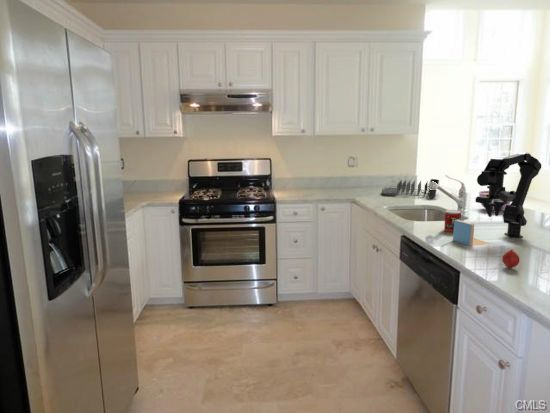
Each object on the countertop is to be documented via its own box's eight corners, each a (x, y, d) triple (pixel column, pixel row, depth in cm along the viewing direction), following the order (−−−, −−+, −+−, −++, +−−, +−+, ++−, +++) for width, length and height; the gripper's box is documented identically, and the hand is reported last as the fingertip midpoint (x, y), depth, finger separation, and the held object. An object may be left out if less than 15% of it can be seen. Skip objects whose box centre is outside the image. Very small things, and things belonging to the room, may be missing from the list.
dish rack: (437, 199, 303) (438, 184, 301) (379, 196, 321) (379, 182, 319) (438, 193, 333) (439, 179, 331) (385, 190, 351) (386, 177, 349)
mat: (470, 237, 196) (470, 236, 196) (490, 244, 185) (490, 243, 185) (451, 240, 192) (451, 239, 192) (470, 246, 181) (470, 246, 181)
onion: (499, 265, 156) (501, 246, 155) (515, 266, 155) (518, 247, 153) (503, 270, 151) (505, 250, 149) (520, 271, 149) (522, 251, 148)
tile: (456, 239, 192) (457, 219, 190) (472, 245, 183) (474, 224, 181) (452, 240, 191) (454, 220, 189) (469, 245, 182) (471, 224, 180)
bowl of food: (474, 206, 273) (475, 190, 271) (506, 207, 267) (508, 191, 265) (481, 212, 254) (482, 195, 252) (515, 213, 249) (517, 195, 246)
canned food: (444, 232, 207) (445, 212, 205) (443, 229, 214) (445, 209, 212) (460, 233, 204) (461, 213, 202) (459, 230, 211) (460, 210, 209)
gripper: (496, 187, 175) (493, 221, 178) (526, 185, 181) (522, 218, 184) (475, 184, 186) (473, 216, 188) (504, 182, 192) (501, 213, 195)
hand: (493, 216), depth 189 cm, fingers open, 4 cm apart
